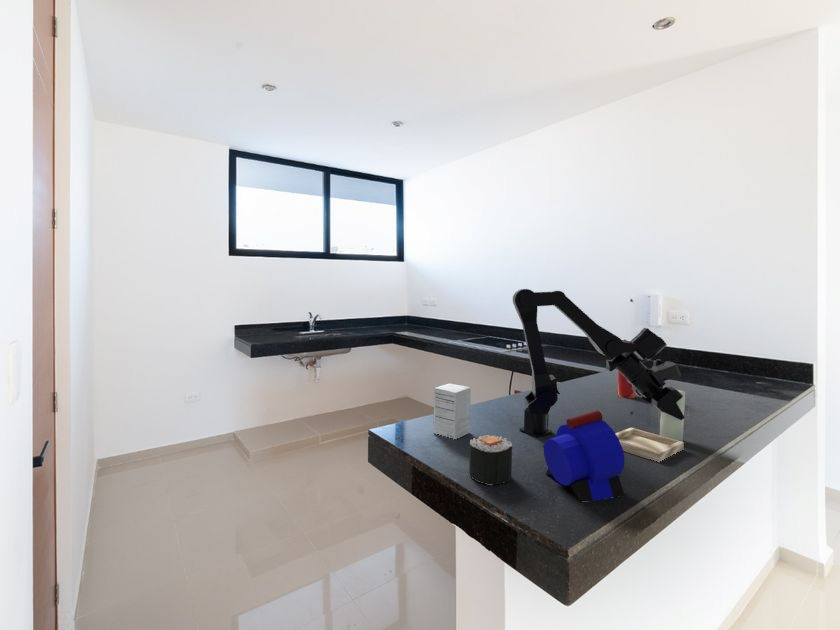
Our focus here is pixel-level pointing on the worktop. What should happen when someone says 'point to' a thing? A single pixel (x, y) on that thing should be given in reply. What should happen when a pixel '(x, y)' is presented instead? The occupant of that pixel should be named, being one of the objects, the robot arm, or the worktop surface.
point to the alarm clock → (586, 457)
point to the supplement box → (452, 410)
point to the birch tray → (648, 444)
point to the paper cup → (624, 387)
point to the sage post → (673, 422)
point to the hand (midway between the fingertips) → (678, 415)
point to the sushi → (490, 459)
